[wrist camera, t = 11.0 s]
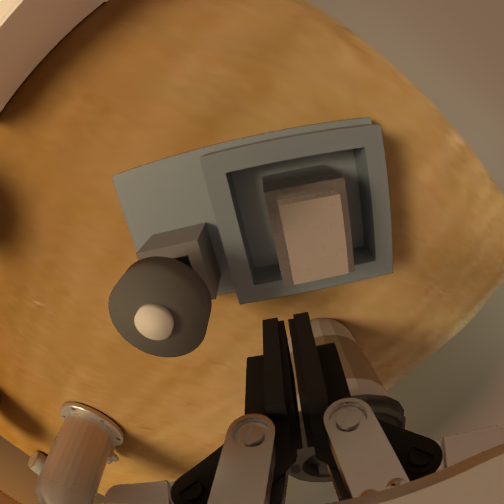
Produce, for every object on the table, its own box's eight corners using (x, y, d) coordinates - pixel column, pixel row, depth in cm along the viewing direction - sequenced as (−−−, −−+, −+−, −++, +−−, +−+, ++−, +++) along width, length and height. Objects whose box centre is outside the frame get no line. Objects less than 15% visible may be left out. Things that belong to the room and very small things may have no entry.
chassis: (379, 254, 28) (402, 282, 23) (162, 296, 30) (146, 329, 25) (364, 117, 22) (391, 117, 17) (119, 173, 25) (89, 186, 20)
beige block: (323, 164, 23) (349, 181, 16) (334, 239, 25) (359, 279, 19) (262, 176, 23) (264, 197, 17) (278, 250, 26) (284, 295, 19)
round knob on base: (227, 299, 24) (218, 358, 18) (156, 311, 25) (130, 365, 19) (205, 225, 22) (184, 268, 15) (128, 243, 22) (88, 286, 16)
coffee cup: (259, 309, 30) (260, 438, 16) (369, 292, 29) (429, 404, 16) (273, 383, 35) (278, 492, 21) (364, 368, 34) (397, 469, 20)
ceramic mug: (40, 448, 52) (30, 468, 45) (63, 464, 55) (55, 484, 48) (30, 449, 55) (21, 467, 48) (51, 465, 57) (44, 483, 50)
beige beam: (90, -27, 16) (41, -59, 7) (110, 0, 18) (57, -34, 9) (-23, 100, 20) (-78, 108, 12) (-10, 131, 22) (-68, 145, 14)
